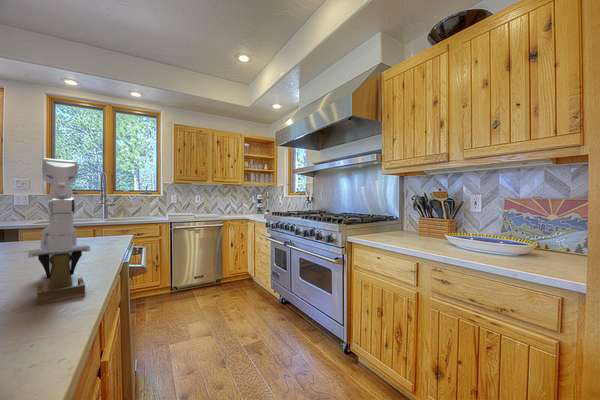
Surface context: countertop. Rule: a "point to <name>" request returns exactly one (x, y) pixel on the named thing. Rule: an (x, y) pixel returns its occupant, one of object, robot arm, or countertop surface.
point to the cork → (60, 271)
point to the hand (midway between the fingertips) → (60, 275)
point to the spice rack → (60, 293)
